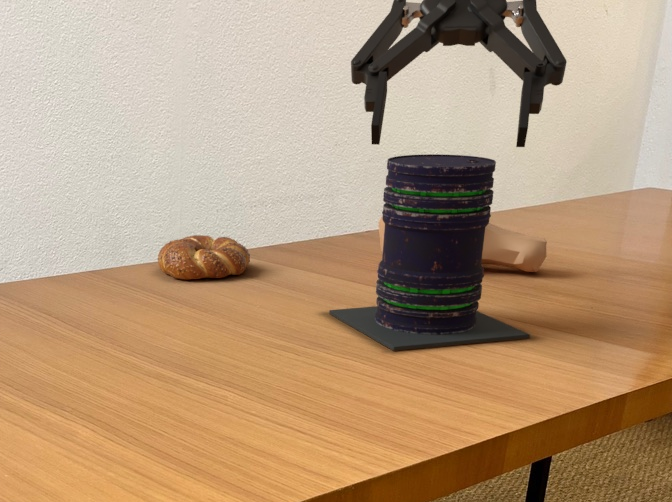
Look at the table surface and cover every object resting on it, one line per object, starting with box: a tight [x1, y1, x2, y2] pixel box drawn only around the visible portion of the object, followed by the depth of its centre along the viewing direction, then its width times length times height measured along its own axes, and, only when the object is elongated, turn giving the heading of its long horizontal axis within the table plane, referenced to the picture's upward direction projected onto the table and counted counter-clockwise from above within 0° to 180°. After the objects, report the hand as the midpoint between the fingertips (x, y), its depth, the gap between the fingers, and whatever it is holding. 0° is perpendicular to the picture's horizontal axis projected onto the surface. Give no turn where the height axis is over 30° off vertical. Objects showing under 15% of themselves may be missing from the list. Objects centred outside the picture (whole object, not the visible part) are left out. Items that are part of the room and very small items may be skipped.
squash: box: [378, 213, 548, 273], centre depth 125 cm, size 11×20×9 cm, turn 66°
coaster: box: [329, 305, 531, 352], centre depth 102 cm, size 14×14×1 cm
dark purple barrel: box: [375, 154, 497, 335], centre depth 99 cm, size 10×10×15 cm
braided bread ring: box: [157, 234, 251, 280], centre depth 124 cm, size 12×11×4 cm
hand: (447, 136), depth 100 cm, fingers open, 13 cm apart
